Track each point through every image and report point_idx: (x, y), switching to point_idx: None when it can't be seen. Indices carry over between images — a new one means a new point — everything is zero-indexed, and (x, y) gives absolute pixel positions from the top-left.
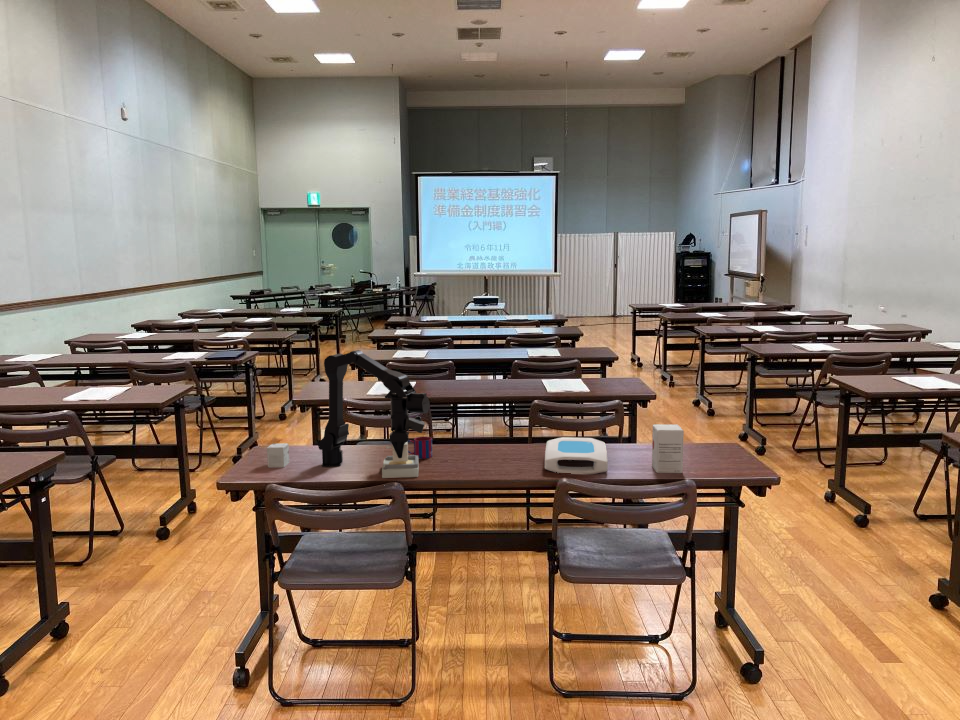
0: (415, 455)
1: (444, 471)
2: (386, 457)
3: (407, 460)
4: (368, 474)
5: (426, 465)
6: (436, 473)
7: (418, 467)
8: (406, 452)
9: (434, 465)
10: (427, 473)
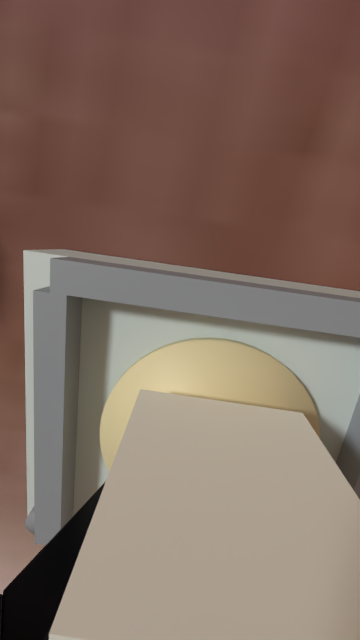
0: (38, 290)
1: (319, 12)
2: (27, 527)
3: (304, 419)
4: None
5: (73, 178)
6: (356, 116)
7: (152, 262)
8: (356, 517)
9: (84, 96)
10: (323, 204)
